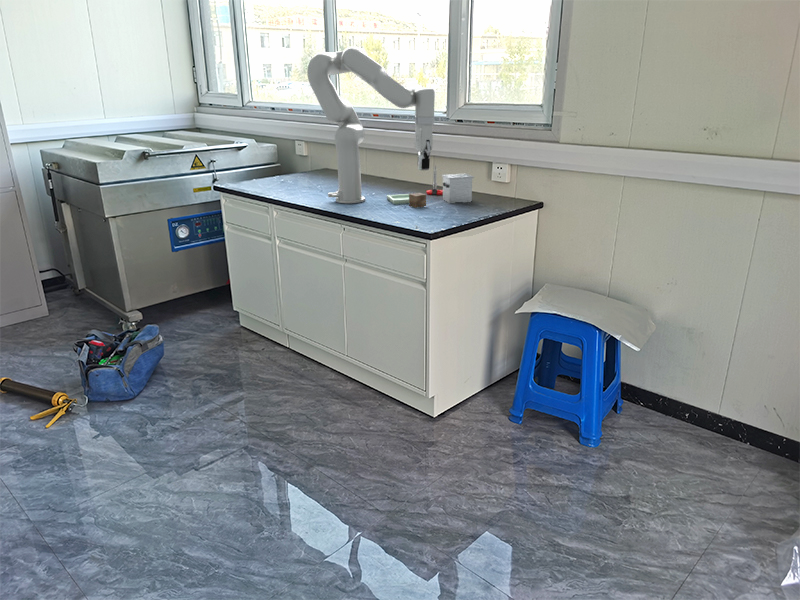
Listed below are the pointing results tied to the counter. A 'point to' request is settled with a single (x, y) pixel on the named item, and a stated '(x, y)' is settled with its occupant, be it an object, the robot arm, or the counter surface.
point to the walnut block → (417, 200)
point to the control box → (457, 187)
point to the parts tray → (398, 198)
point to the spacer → (420, 161)
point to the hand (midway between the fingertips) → (423, 167)
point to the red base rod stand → (434, 187)
